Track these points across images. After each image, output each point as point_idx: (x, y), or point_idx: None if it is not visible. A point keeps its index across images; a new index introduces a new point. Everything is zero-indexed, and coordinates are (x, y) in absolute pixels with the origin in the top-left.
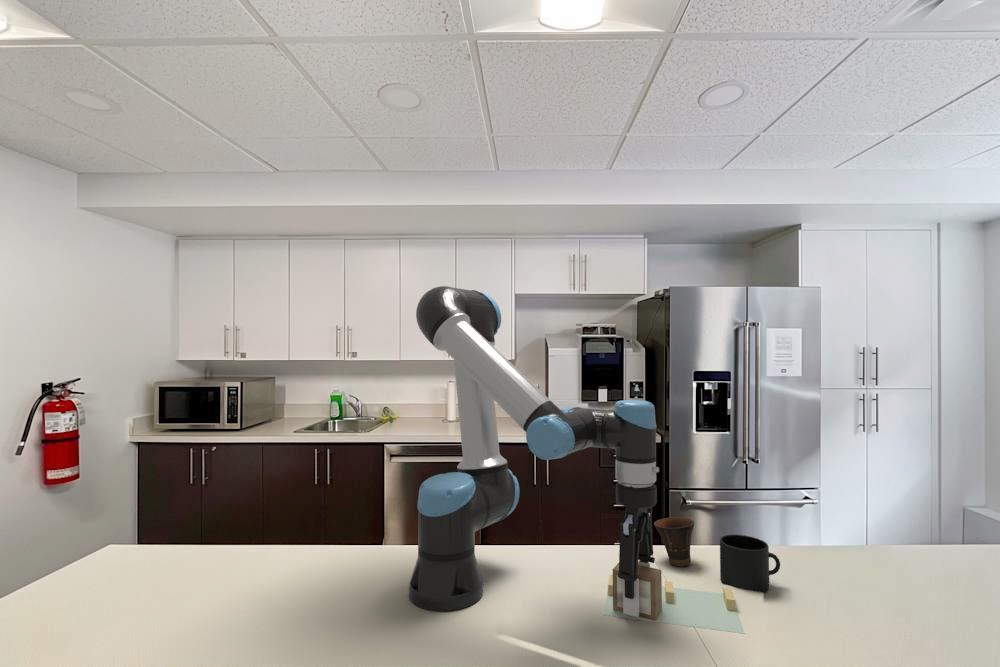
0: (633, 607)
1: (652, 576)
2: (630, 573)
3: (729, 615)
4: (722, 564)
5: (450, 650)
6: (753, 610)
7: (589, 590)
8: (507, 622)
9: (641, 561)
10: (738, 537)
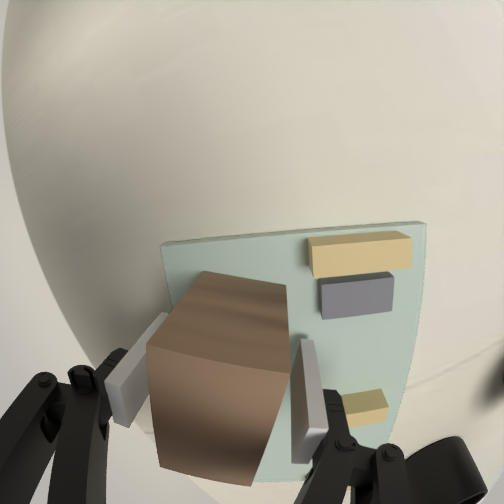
0: None
1: (170, 464)
2: (41, 420)
3: (286, 474)
4: (442, 472)
5: (14, 35)
6: None
7: (359, 156)
8: (86, 31)
9: (320, 445)
10: (479, 496)
